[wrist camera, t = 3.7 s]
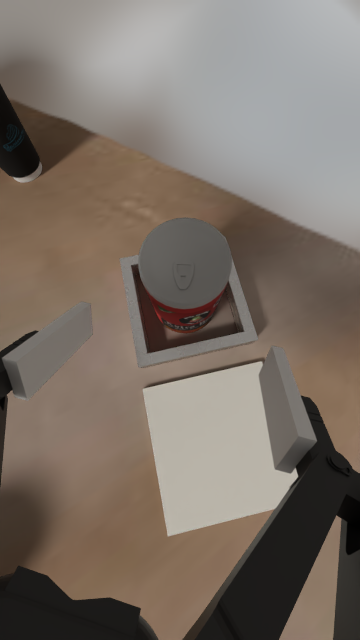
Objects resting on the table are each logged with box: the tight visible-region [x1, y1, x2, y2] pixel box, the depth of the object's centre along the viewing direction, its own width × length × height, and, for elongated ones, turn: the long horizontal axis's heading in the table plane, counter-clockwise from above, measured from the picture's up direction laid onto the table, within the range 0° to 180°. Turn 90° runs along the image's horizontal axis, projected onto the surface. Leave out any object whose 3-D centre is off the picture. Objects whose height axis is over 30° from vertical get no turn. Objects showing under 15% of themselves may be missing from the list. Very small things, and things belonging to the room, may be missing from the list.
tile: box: [143, 361, 298, 536], centre depth 24 cm, size 14×14×1 cm
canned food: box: [138, 218, 232, 333], centre depth 23 cm, size 8×8×11 cm
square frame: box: [120, 237, 258, 368], centre depth 27 cm, size 13×13×2 cm
